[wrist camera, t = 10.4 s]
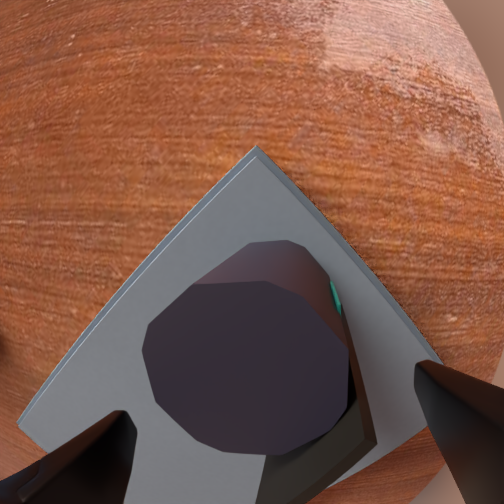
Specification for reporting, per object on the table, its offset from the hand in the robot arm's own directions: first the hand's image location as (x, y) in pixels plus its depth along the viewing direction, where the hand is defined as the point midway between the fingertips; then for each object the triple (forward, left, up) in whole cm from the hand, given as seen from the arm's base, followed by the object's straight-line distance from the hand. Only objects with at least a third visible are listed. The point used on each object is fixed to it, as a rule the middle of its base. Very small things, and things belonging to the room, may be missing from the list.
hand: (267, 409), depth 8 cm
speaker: (0, 0, -8) cm, 8 cm away
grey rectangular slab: (+7, +10, -11) cm, 16 cm away
